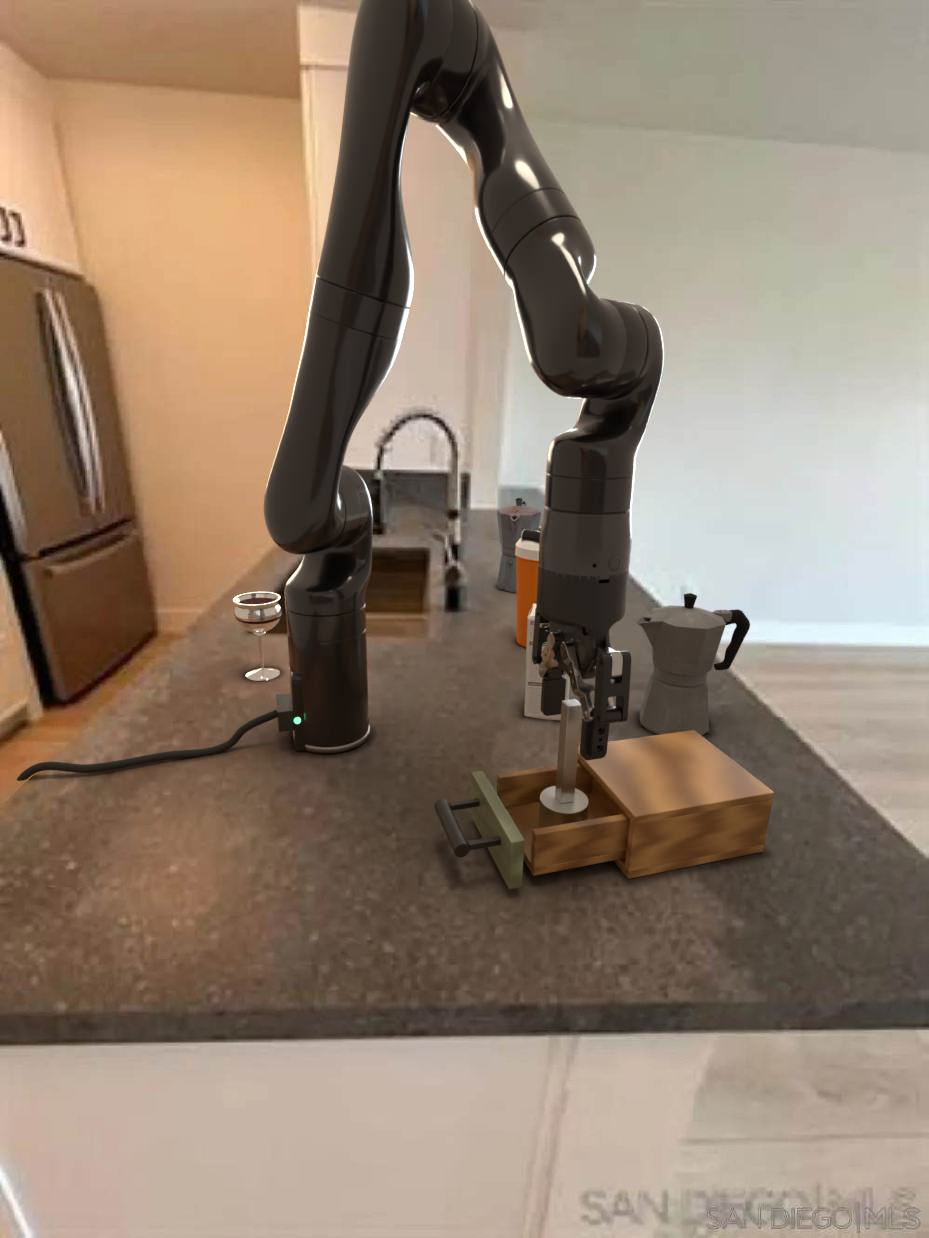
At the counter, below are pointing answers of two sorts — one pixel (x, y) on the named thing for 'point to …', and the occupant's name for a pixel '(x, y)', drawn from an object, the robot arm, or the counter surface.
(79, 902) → the counter surface
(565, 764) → the post on round base
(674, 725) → the coffeepot
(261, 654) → the wineglass
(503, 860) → the drawer
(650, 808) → the cabinet
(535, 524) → the moka pot
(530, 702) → the syrup box
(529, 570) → the shaker bottle
